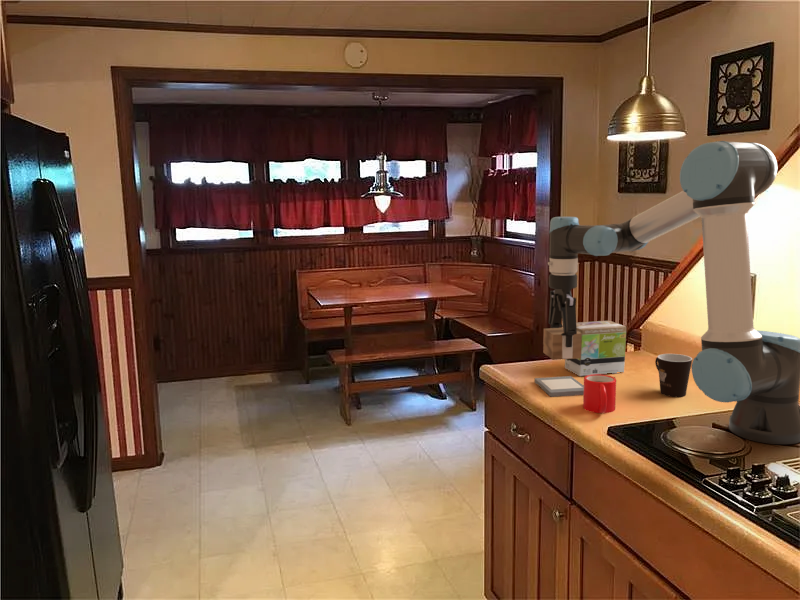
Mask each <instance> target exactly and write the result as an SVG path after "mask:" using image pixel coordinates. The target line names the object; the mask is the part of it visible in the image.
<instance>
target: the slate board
mask: <svg viewBox="0 0 800 600" xmlns="http://www.w3.org/2000/svg"><path fill="white" fill-rule="evenodd" d="M534 383H535V384H536V385H537V384H538V385H539V386H540V387H541V388H540V387H539V386H538V385H537V386H538V387H539V388H540V389H541V390H542V391H544V392H545V393H546V394H547V395H548V396H549V397H553V398H554V397H567V396H568V397H570V396H583V394H584V384H582V383H581V382H580V381H579V380H577V379H576V378H574V377H573V376H571V375H569V376H568V375H567V376H552V377H550V376H548V377H535V378H534Z"/></svg>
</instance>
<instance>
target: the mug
mask: <svg viewBox="0 0 800 600" xmlns="http://www.w3.org/2000/svg"><path fill="white" fill-rule="evenodd" d="M583 385H584V394H583V395H582V396H583V399H582V400H583V401H582V402H583V404H582V405H583V406H582V407H583V409H584V410H585V411H587V412H590V413H597V414H609V413H614V412H615V411H616V400H617V399H616V398H617V378H615V377H614V376H612V375H608V374H592V375H585V376H584V377H583Z"/></svg>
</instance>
